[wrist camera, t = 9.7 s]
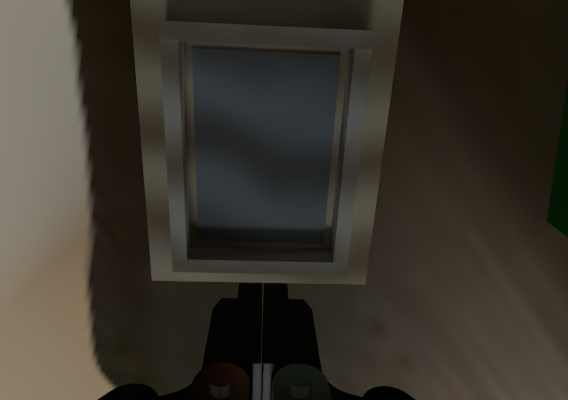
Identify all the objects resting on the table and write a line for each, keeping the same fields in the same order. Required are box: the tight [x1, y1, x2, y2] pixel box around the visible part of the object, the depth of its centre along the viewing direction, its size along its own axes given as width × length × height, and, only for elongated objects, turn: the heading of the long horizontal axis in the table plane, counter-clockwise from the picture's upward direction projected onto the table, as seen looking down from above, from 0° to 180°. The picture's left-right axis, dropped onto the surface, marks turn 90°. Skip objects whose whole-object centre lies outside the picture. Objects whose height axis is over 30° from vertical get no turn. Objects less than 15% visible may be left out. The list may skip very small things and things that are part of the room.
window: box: [130, 0, 404, 284], centre depth 29 cm, size 20×16×3 cm
